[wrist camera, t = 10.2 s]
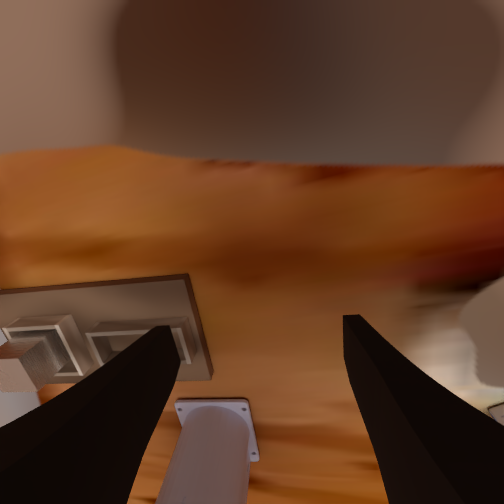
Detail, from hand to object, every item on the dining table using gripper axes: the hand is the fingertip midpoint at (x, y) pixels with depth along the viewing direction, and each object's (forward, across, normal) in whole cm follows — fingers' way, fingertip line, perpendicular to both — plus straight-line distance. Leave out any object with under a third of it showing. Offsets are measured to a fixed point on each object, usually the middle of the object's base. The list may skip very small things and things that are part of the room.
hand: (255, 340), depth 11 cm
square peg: (+9, +22, +7) cm, 24 cm away
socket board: (+10, +17, +7) cm, 21 cm away
